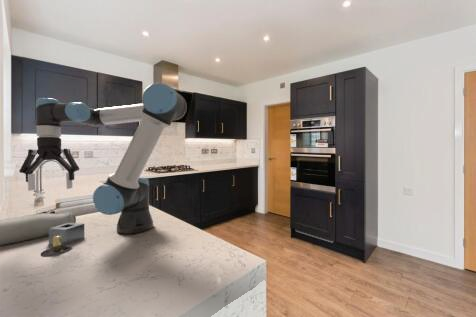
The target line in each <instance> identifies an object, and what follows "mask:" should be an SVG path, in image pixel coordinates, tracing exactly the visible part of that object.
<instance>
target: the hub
mask: <svg viewBox="0 0 476 317" xmlns="http://www.w3.org/2000/svg"><path fill="white" fill-rule="evenodd" d="M73 249H74V248H73V247H70V246H68V245H62V236H61V235H59V236H54V237H53V245H52V247H51V248H47V249H45V250H43V251H42V252H41V253H40V256H41V257H44V258H46V257H48V258H50V257H56V256H60V255H63V254H65V253H68V252H70V251H72V250H73Z"/></svg>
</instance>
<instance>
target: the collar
mask: <svg viewBox="0 0 476 317" xmlns="http://www.w3.org/2000/svg"><path fill="white" fill-rule="evenodd" d="M59 235H61V236H62V246H68V245H70V244H73V243H75V242H77V241H79V240H82V239H84V238H85V223H79V222H75V223H65V224H62V225H58V226H55V227H52V228H49V235H48V244H53V237H54V236H59Z"/></svg>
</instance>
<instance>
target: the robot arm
mask: <svg viewBox="0 0 476 317" xmlns="http://www.w3.org/2000/svg"><path fill="white" fill-rule="evenodd" d="M141 101H142V103H136V104H131V105H130V104H129V105H121V106H120V105H119V106H112V107H103V108H96V109H94V108H91V107H89V106H88V105H87V103H83V102H76V101H73V102H72V101H71V102H64V103H63V102H61V101H60V100H58V99H56V98H49V97H39V98H37V99H36V102H35V108H34V109H35V114H36V115H35V116H36V136H37V138H36V144H37V145H36V146H37V149H28V150H27V155H26V158H25V159H24V161H23V163H22V165H21V167H20V169H19V170H18V171H19V173H21V174H24V175H25V182H26V183H27V188H28V189H27V191H28V192H29V191H35V190H36V173H34V172H35V171H36V169H37V168H39V166H41V165H42V163H43V162H44V161H45V162H46V161H57V162H58V164H60V166H62V167H63V168H64V169H65V170H66V171H67V172H66V174H65V176H66V177H65V178H66V182H65V183H66V189H67V190H69V189H73V181H74V180H75V172H77V171H80V167H79V165H78V164H77V162H76V161H75V158H74V157H73V156H72V154H71V149H70V148H62V138H61V137H62V129H61V128H62V125H61V124H62V123H75V124H82V125H86V126H91V127H95V128H104V127H106V126H109V125H118V124H119V125H120V124H127V123H136V122H139V124H138V126H137V128H136V130H135V133H134V134H133V137H132V138H131V141H130V143H128V144H129V145H128V147H127V149H126V150H125V153H124V154H123V156H122V158H121V160H120V162H119V165H118V166H117V169H116V170H115V172H113V173H110V174H109V175H108V177H107V179H106V181H105V182H104V184H101V185H99V186H98V187H97V188H96V189H95V190H94V192H93V194H92V202H93V204H94V207H95V208H96V210H97V211H98V212H99V213H101V214H103V215H106V216H113V215H116V214H117V215H118V214H119V217H118V218H119V219H118V221H117V225H116V232H117V233H119V234H120V233H121V234H136V233H142V232H146V231H148V230H151V229H152V228H153V227H154V220H153V218H152V214H151V212H150V184H149V183H150V181H149V179H148V178H146V177H140V176H141V175H142V173H143V170H144V168H145V167H146V165H147V163H148V161H149V159H150V157H151V155H152V154H153V153H152V152H153V151H154V149H155V147H156V145H157V143H158V141H159V139H160V137H161V134H162V133H163V131H164V129H166V128H168V127H170V126H171V124H172V122H173V121H177V120H181V119H182V118H183V117H184V116H185V114H186V113H187V110H188V109H187V108H188V107H187V106H188V104H187V101H186V99H185V98H184V96H182V95H181V94H180V93H179V92H177V91H176V89H175V88H173V87H171V86H170V85H168V84H167V83H164V82H155V83H152V84H150V85H148V86H147V87H146V88H145V89H144V90H143V92H142V96H141ZM62 154H63V155H64V156H65V159H66V160H67V161H66V160H65V159H64V157H63V156H62ZM37 155H38V156H37ZM36 156H37V157H36Z"/></svg>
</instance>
